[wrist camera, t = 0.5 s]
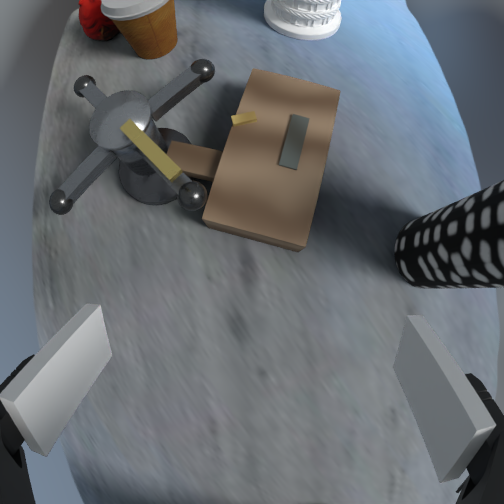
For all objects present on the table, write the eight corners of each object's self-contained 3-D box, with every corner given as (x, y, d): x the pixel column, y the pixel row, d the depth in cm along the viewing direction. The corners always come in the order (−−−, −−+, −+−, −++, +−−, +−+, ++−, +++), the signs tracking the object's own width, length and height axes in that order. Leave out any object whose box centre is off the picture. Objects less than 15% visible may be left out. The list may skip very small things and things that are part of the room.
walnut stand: (298, 252, 35) (306, 246, 29) (158, 214, 35) (142, 202, 30) (331, 112, 37) (341, 87, 31) (207, 83, 37) (201, 56, 32)
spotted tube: (388, 281, 35) (510, 273, 15) (399, 211, 35) (510, 150, 15) (445, 293, 34) (570, 293, 14) (453, 228, 35) (571, 189, 15)
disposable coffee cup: (133, 27, 39) (110, -25, 27) (192, 20, 38) (180, -38, 27) (119, 71, 38) (87, 18, 26) (184, 64, 38) (165, 3, 26)
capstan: (48, 169, 36) (-3, 138, 25) (166, 60, 37) (145, 4, 26) (143, 292, 34) (97, 294, 23) (283, 157, 36) (294, 106, 24)
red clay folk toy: (129, 9, 39) (102, -54, 24) (135, 32, 38) (105, -37, 23) (87, 28, 39) (53, -30, 24) (90, 52, 38) (50, -9, 23)
